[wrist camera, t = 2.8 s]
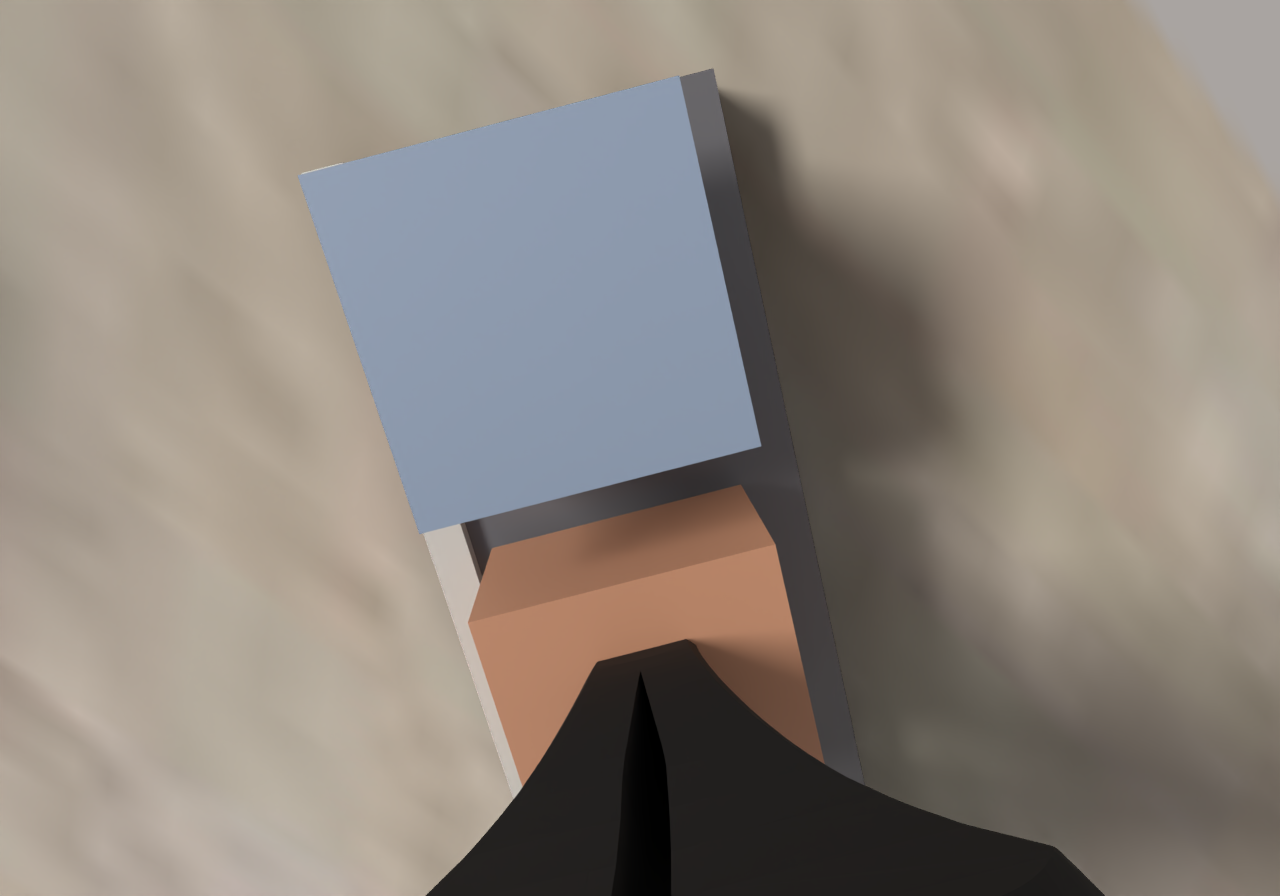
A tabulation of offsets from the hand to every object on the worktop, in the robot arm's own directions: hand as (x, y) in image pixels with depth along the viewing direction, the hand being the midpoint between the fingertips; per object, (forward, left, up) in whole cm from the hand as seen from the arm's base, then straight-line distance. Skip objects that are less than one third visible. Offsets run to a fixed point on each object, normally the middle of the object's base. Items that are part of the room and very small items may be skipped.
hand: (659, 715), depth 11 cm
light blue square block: (+5, 0, -2) cm, 6 cm away
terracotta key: (0, 0, -2) cm, 2 cm away
